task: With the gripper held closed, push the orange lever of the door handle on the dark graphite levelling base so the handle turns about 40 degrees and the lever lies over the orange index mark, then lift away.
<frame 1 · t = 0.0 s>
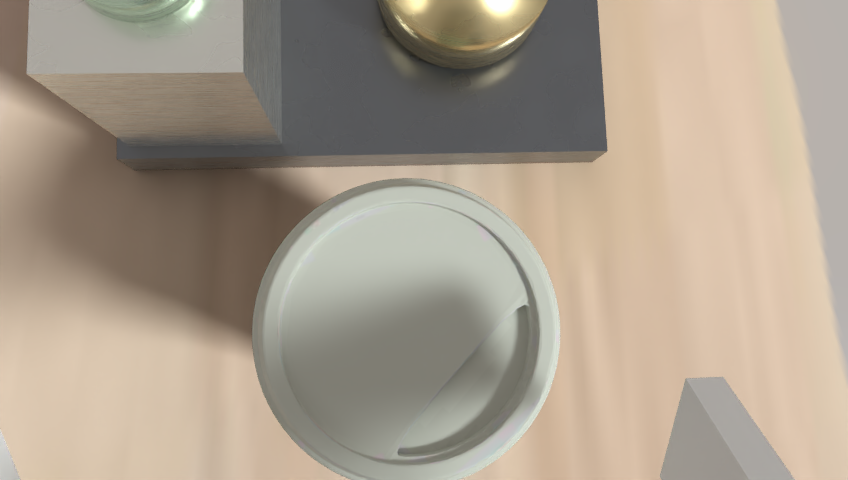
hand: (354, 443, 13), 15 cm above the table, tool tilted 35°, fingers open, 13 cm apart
coffee cup: (396, 325, 29), on the table
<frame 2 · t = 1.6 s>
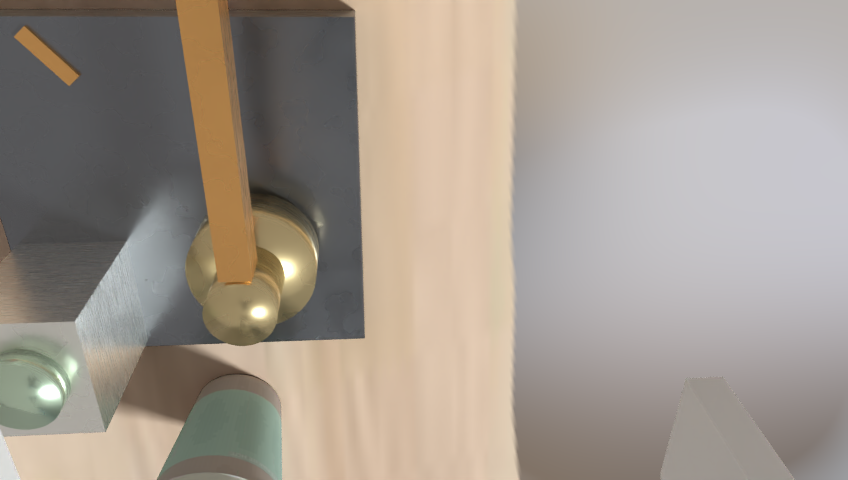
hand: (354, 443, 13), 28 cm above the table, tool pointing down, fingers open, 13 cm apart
door handle: (235, 162, 33), point 6 cm above the table, hinge at 0.0°
coffee cup: (240, 403, 48), on the table
levelling base: (190, 186, 40), on the table
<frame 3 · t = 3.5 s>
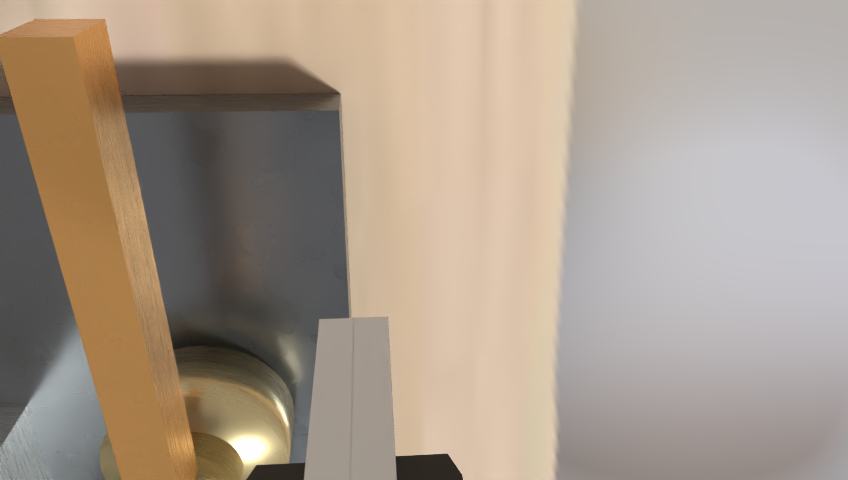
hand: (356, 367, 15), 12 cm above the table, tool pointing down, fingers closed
door handle: (161, 331, 22), point 6 cm above the table, hinge at 0.0°
levelling base: (116, 325, 29), on the table
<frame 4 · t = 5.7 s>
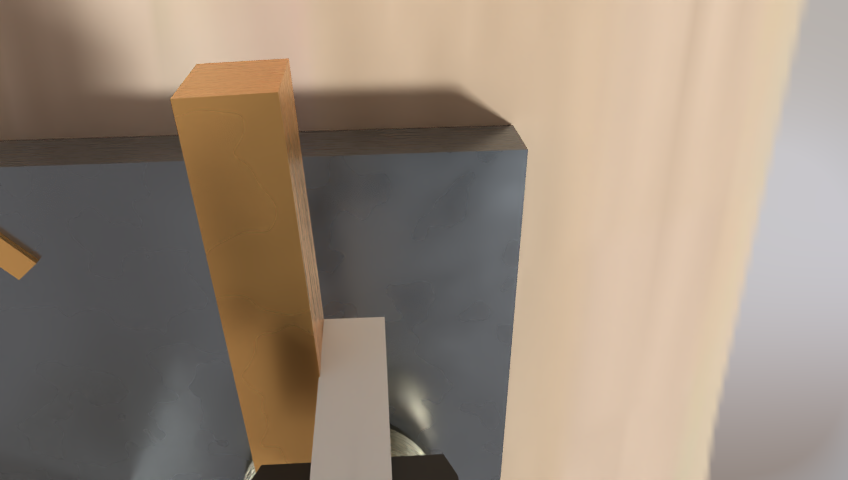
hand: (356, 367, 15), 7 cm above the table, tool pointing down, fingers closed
door handle: (314, 425, 18), point 6 cm above the table, hinge at 2.3°, touching gripper
levelling base: (227, 392, 25), on the table
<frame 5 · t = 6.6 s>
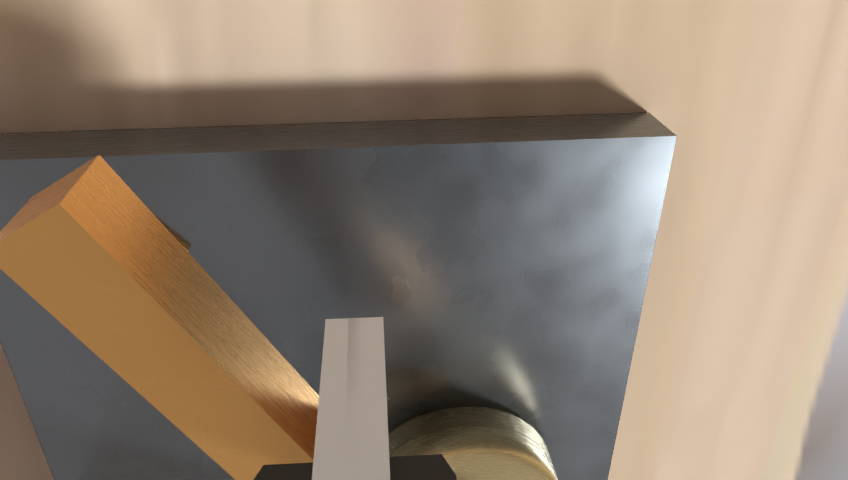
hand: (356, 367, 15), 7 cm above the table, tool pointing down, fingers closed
door handle: (361, 441, 19), point 6 cm above the table, hinge at 29.7°, touching gripper
levelling base: (343, 380, 25), on the table
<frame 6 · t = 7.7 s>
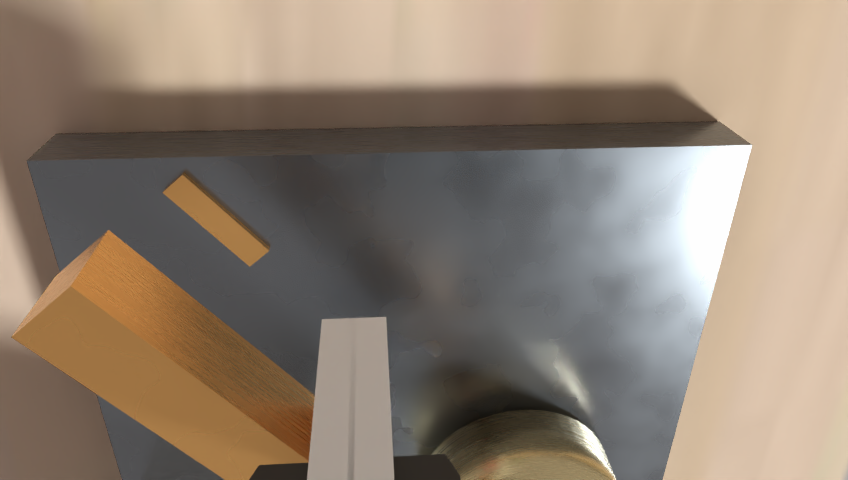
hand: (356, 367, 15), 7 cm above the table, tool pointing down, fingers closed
door handle: (404, 459, 19), point 6 cm above the table, hinge at 39.3°, touching gripper
levelling base: (402, 381, 25), on the table
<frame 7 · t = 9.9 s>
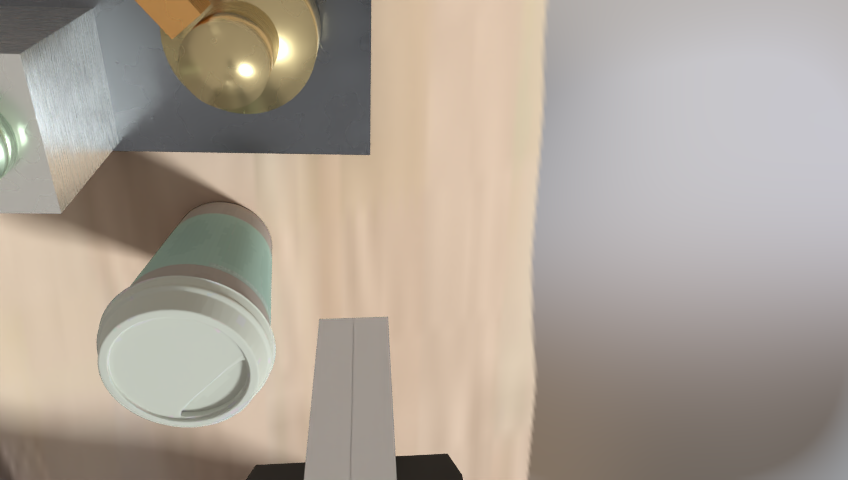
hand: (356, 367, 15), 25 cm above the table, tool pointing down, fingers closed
coffee cup: (226, 240, 42), on the table
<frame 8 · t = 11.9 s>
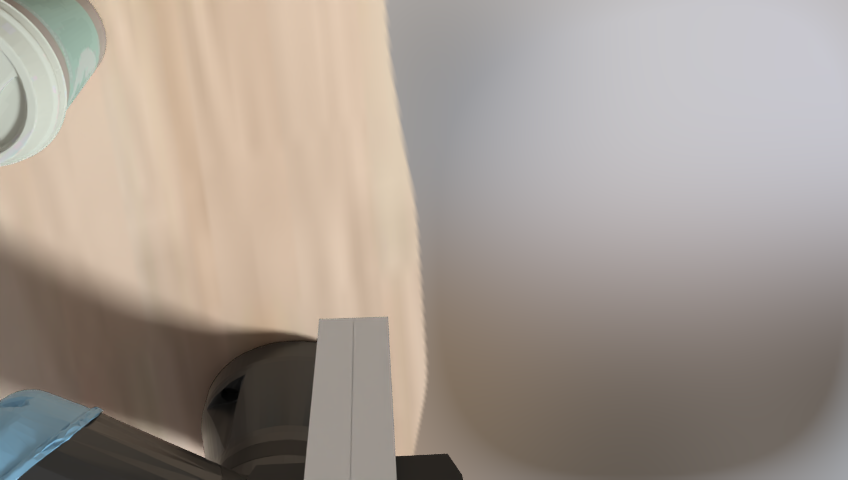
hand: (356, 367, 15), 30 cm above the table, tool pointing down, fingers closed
coffee cup: (56, 30, 40), on the table
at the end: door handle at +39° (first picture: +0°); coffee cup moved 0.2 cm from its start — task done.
